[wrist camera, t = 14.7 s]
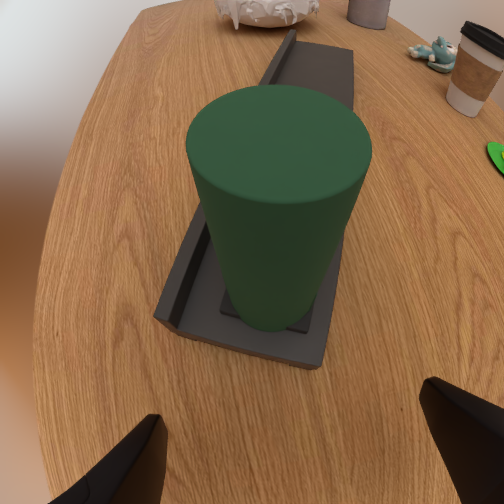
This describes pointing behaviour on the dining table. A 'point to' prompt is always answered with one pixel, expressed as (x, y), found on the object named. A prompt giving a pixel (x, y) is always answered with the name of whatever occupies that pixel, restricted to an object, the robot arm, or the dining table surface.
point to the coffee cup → (475, 68)
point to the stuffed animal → (436, 54)
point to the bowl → (266, 11)
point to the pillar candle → (368, 13)
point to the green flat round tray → (497, 154)
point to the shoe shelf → (204, 256)
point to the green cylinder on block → (276, 195)
